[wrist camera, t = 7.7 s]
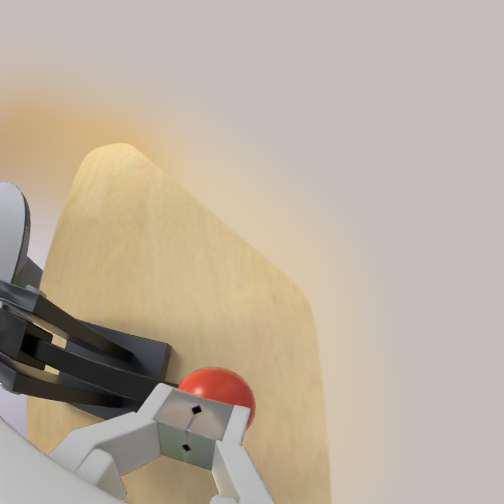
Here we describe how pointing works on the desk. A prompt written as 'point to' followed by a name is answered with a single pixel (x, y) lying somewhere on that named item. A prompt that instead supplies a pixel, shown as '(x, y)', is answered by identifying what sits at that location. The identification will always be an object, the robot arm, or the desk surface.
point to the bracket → (85, 344)
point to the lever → (114, 368)
